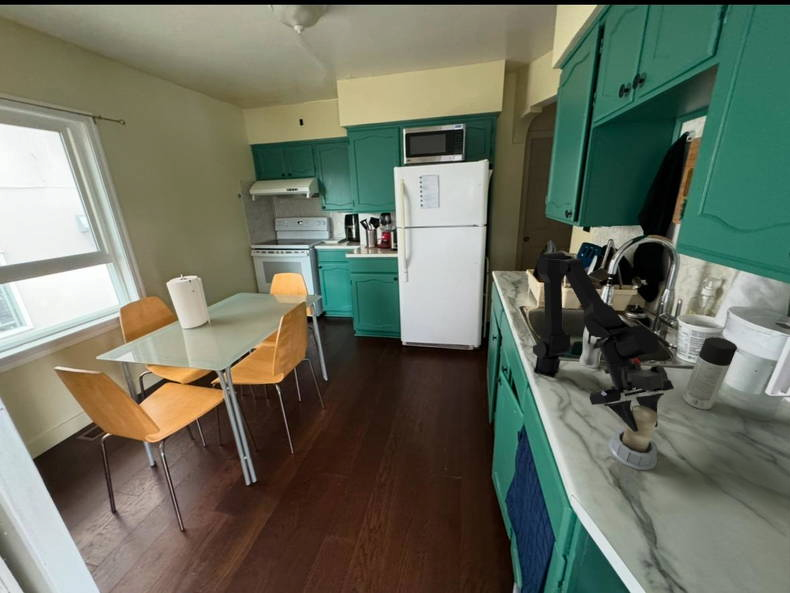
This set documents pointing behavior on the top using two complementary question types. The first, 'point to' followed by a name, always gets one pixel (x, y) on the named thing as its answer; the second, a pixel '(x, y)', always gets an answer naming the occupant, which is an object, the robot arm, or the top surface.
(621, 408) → the robot arm
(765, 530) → the top surface
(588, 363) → the beer glass
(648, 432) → the birch plug
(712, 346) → the spray can
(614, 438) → the round socket
